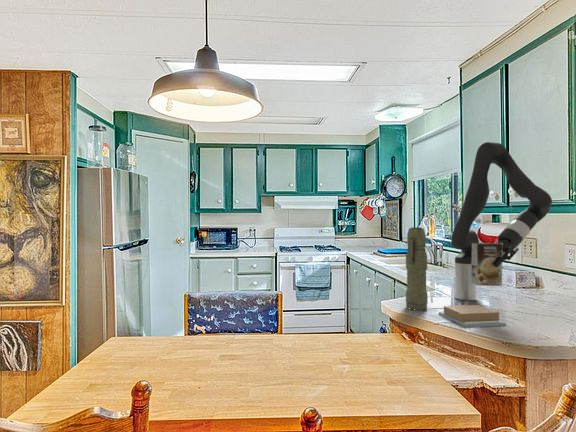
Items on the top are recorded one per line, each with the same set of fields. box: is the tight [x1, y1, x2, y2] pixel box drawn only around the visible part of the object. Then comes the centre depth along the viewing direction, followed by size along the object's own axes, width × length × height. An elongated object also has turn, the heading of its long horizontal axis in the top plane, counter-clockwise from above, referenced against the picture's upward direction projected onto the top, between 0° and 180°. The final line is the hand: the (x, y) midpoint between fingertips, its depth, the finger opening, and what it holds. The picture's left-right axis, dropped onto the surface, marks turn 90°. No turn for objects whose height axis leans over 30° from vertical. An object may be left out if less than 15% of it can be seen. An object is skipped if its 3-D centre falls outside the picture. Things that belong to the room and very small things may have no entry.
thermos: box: [405, 226, 429, 311], centre depth 163 cm, size 9×12×35 cm
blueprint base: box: [438, 304, 507, 328], centre depth 145 cm, size 18×16×4 cm
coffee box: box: [471, 242, 503, 287], centre depth 146 cm, size 9×6×16 cm
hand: (487, 264), depth 146 cm, fingers closed on coffee box, 7 cm apart
